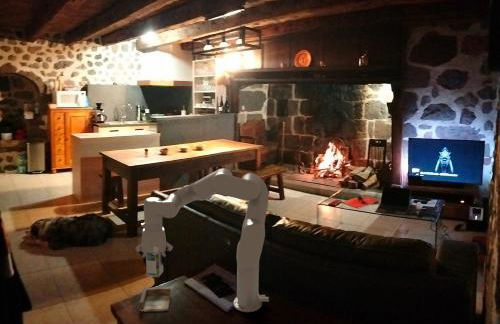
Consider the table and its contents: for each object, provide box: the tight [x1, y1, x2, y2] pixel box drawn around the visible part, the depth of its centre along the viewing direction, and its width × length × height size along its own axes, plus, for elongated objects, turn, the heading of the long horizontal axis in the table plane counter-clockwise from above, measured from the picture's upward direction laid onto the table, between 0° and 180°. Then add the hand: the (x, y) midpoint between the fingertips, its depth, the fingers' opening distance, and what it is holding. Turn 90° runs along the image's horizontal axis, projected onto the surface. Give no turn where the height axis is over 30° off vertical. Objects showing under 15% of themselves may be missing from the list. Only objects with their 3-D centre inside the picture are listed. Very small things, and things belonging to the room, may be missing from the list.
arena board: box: [139, 286, 171, 313], centre depth 181 cm, size 12×12×4 cm
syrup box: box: [145, 246, 164, 278], centre depth 177 cm, size 6×6×14 cm
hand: (154, 264), depth 177 cm, fingers closed on syrup box, 6 cm apart
